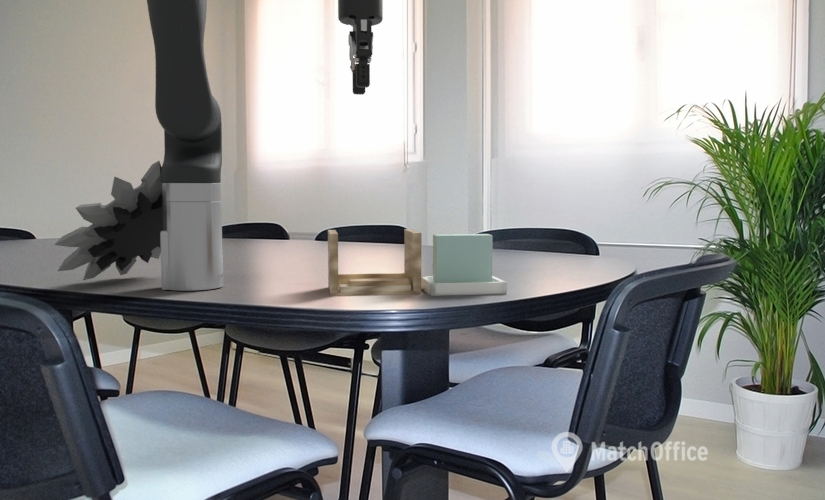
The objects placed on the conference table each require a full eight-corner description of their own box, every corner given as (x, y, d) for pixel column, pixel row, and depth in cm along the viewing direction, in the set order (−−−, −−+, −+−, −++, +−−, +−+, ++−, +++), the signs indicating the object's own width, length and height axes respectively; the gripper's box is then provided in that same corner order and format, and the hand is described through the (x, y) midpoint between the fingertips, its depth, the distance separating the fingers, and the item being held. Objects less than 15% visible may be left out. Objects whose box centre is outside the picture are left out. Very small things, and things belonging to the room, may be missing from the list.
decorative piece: (93, 314, 124) (29, 242, 97) (82, 299, 125) (16, 223, 98) (231, 226, 135) (208, 140, 108) (220, 213, 136) (195, 124, 110)
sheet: (436, 289, 105) (436, 235, 104) (432, 287, 108) (433, 234, 107) (492, 288, 106) (492, 235, 106) (487, 285, 109) (487, 234, 109)
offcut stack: (340, 292, 103) (340, 281, 103) (339, 289, 106) (339, 279, 105) (411, 290, 104) (411, 280, 104) (408, 287, 107) (408, 277, 107)
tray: (430, 296, 102) (430, 283, 102) (420, 288, 111) (420, 276, 111) (506, 295, 104) (507, 282, 104) (491, 286, 113) (491, 275, 112)
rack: (330, 296, 102) (329, 233, 101) (328, 287, 112) (327, 229, 111) (421, 294, 104) (421, 232, 103) (411, 285, 114) (411, 229, 113)
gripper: (336, 3, 120) (337, 96, 121) (340, -21, 106) (340, 83, 107) (378, 5, 121) (378, 97, 122) (387, -19, 107) (387, 85, 108)
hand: (360, 90), depth 115 cm, fingers open, 8 cm apart
